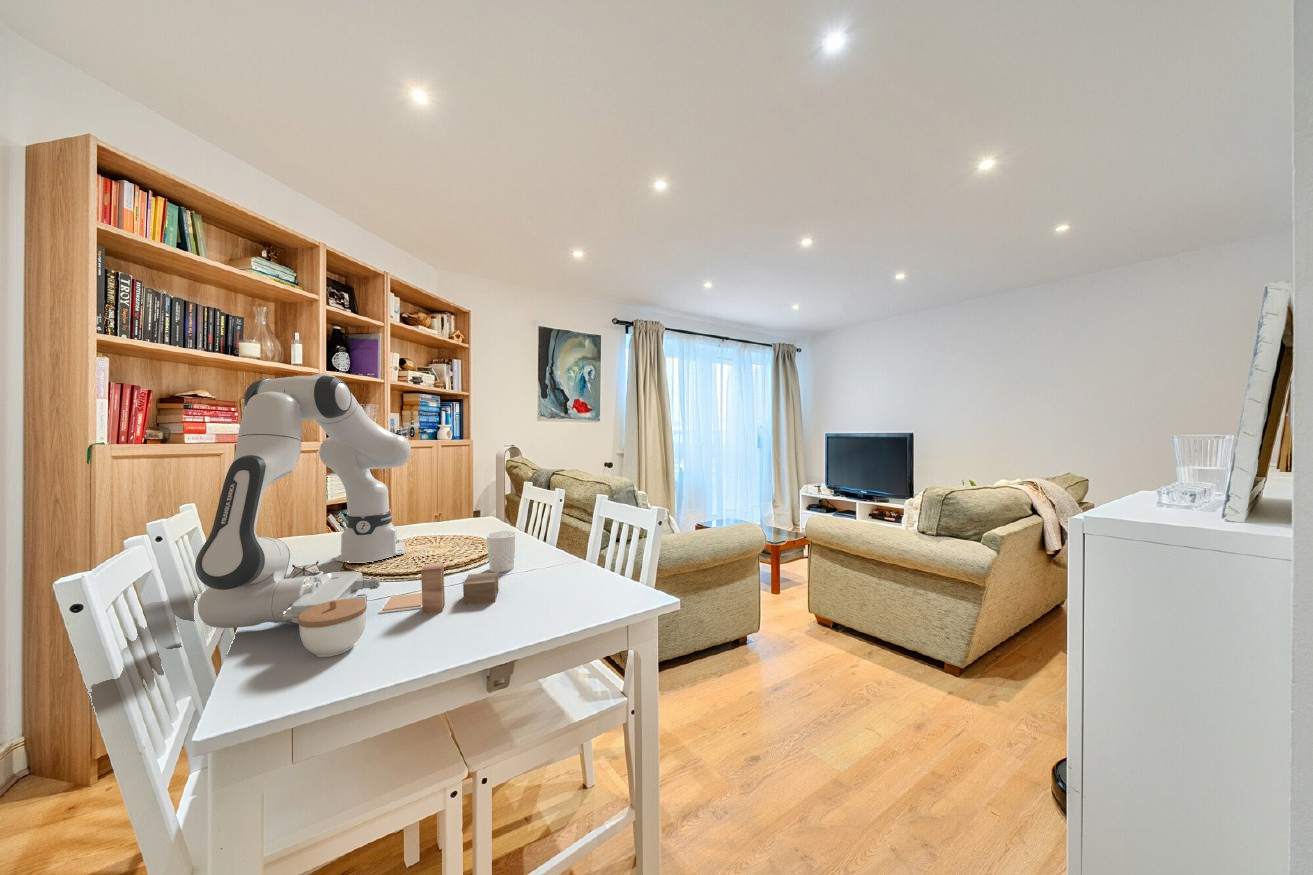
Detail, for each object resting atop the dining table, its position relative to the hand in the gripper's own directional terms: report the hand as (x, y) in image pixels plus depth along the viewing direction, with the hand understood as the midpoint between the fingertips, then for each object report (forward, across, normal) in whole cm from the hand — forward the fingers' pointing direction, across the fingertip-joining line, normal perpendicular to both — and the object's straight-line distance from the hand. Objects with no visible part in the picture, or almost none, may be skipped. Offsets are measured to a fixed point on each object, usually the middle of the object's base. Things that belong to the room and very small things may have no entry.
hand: (372, 591), depth 102 cm
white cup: (+26, +25, +6) cm, 37 cm away
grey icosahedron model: (-20, +19, +6) cm, 28 cm away
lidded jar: (-3, -14, +6) cm, 15 cm away
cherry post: (+12, 0, +6) cm, 13 cm away
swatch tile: (+5, +6, +6) cm, 10 cm away
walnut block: (+22, +4, +6) cm, 23 cm away
